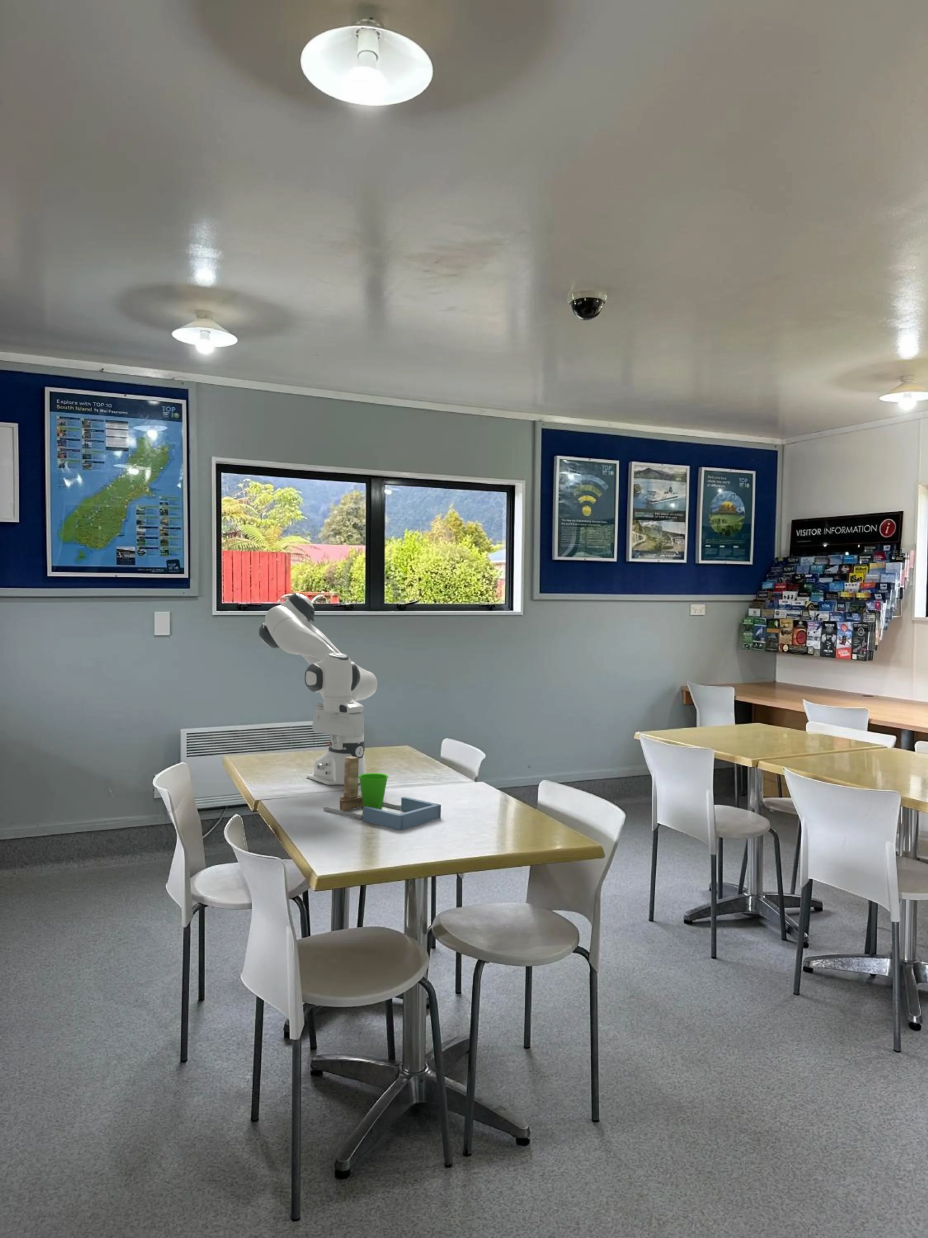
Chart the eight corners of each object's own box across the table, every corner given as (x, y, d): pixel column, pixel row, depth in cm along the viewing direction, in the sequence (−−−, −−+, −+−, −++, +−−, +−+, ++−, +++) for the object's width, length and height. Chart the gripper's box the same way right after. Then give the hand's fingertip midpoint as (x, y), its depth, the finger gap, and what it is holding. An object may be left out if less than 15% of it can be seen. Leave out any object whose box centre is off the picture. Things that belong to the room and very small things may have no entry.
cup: (352, 814, 250) (353, 777, 250) (366, 807, 259) (366, 772, 259) (379, 817, 247) (380, 780, 247) (392, 810, 256) (393, 774, 255)
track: (323, 810, 253) (323, 806, 253) (364, 800, 267) (364, 797, 267) (361, 820, 244) (361, 816, 244) (401, 809, 257) (402, 805, 257)
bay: (362, 820, 243) (362, 807, 243) (404, 809, 257) (404, 796, 257) (399, 830, 234) (399, 816, 234) (440, 818, 248) (440, 804, 248)
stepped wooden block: (332, 808, 255) (334, 759, 255) (360, 801, 264) (362, 754, 264) (344, 811, 252) (345, 761, 252) (372, 804, 261) (373, 756, 261)
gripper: (307, 703, 266) (307, 746, 266) (352, 708, 253) (352, 754, 254) (322, 701, 271) (322, 744, 271) (367, 707, 258) (367, 751, 259)
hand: (337, 749), depth 262 cm, fingers closed
